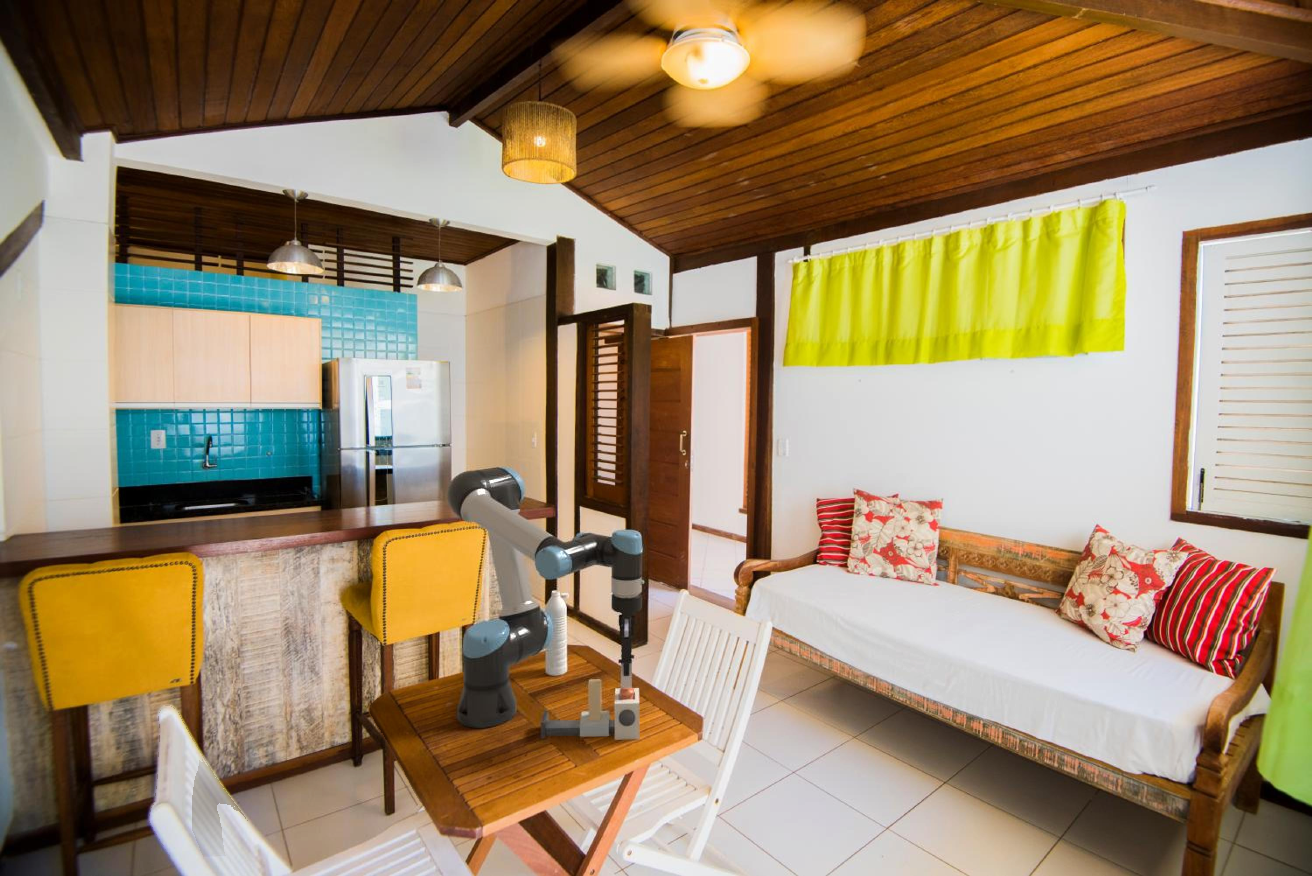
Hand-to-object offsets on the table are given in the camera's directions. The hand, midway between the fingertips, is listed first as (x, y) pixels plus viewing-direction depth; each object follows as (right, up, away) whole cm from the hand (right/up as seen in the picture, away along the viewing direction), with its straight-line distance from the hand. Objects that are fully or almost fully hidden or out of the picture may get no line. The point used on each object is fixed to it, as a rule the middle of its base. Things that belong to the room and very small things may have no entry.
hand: (626, 686), depth 154 cm
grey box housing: (0, -11, +1) cm, 11 cm away
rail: (-11, -11, 0) cm, 16 cm away
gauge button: (0, -7, 0) cm, 7 cm away
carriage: (-8, -11, 0) cm, 14 cm away
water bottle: (-22, -10, +34) cm, 41 cm away
